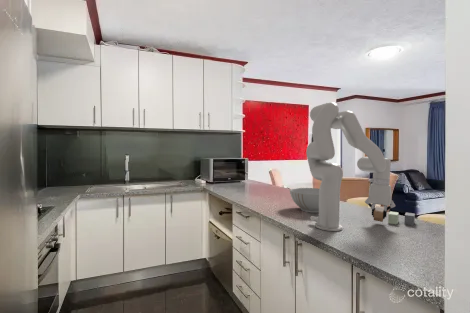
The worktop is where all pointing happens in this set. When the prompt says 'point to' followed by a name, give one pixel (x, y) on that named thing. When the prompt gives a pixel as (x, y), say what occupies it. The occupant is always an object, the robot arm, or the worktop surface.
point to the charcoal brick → (409, 218)
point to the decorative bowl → (306, 198)
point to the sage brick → (393, 217)
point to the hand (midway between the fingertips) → (378, 217)
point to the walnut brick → (378, 213)
